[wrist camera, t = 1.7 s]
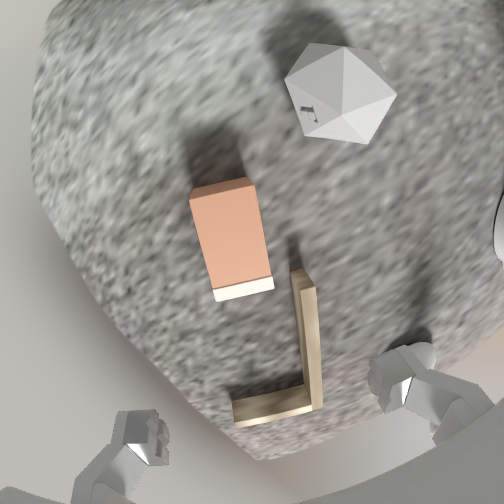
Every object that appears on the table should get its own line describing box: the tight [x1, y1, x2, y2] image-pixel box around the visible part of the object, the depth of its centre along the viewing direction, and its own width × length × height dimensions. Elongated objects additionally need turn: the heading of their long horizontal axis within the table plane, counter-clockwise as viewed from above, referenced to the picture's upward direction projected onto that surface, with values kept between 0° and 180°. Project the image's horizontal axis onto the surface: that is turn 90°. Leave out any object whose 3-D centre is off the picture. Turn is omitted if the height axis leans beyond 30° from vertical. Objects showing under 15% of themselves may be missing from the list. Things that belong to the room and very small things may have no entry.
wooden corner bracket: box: [232, 268, 323, 428], centre depth 32 cm, size 12×20×4 cm, turn 11°
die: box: [284, 43, 397, 144], centre depth 20 cm, size 8×9×10 cm
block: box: [189, 177, 274, 302], centre depth 25 cm, size 5×9×5 cm, turn 11°
